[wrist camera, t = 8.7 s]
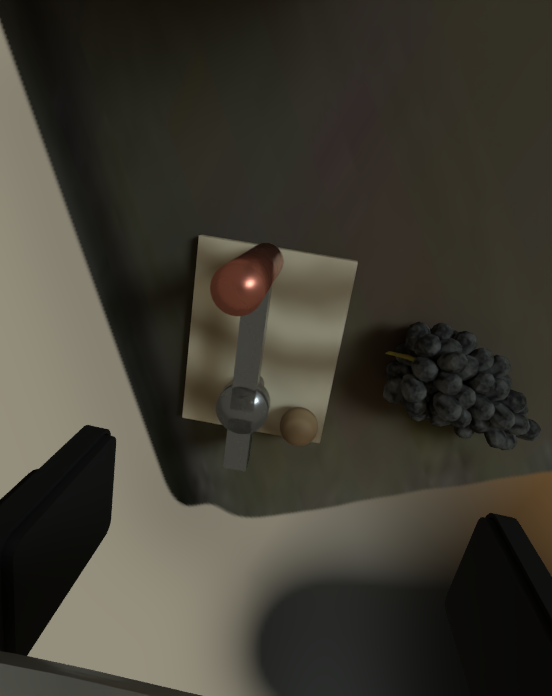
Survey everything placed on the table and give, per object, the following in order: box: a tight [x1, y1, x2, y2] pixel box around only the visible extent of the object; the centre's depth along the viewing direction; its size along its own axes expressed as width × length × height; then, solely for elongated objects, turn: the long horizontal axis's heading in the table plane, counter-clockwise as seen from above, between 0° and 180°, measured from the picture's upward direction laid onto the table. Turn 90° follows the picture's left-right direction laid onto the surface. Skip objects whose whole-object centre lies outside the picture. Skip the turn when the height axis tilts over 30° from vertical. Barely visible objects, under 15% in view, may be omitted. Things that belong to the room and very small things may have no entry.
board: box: [182, 235, 358, 443], centre depth 40 cm, size 18×14×5 cm
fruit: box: [383, 322, 541, 450], centre depth 37 cm, size 9×8×15 cm
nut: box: [280, 407, 318, 446], centre depth 41 cm, size 4×4×4 cm
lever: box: [210, 243, 284, 472], centre depth 33 cm, size 19×4×14 cm, turn 172°
